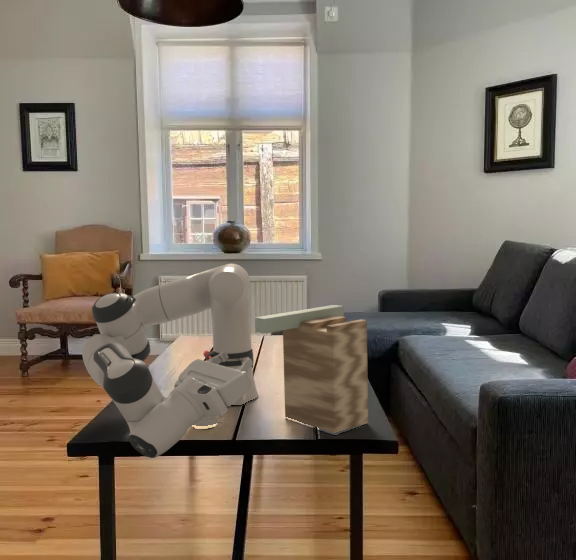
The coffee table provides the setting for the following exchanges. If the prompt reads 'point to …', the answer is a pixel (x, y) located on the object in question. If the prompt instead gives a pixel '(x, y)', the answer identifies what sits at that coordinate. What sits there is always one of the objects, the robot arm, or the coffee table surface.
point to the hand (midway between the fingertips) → (237, 357)
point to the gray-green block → (294, 318)
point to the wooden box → (326, 373)
